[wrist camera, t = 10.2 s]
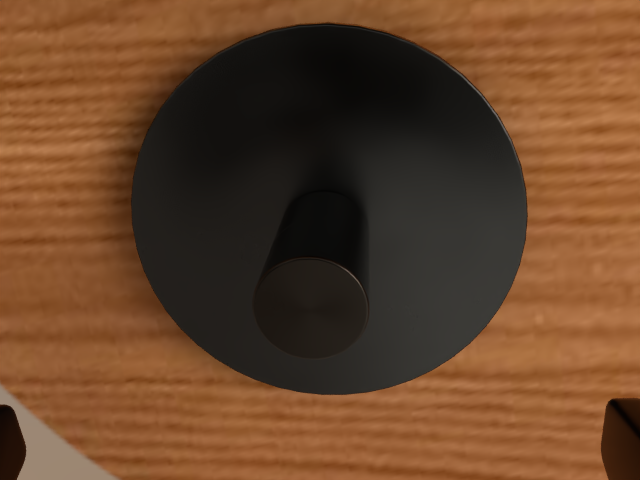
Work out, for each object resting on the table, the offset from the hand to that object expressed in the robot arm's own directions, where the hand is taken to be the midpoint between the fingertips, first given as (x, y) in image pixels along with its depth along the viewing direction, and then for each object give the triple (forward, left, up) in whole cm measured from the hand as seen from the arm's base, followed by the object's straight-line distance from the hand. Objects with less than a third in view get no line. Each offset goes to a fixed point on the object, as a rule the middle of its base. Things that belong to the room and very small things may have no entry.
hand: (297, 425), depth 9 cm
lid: (0, 0, -8) cm, 8 cm away
